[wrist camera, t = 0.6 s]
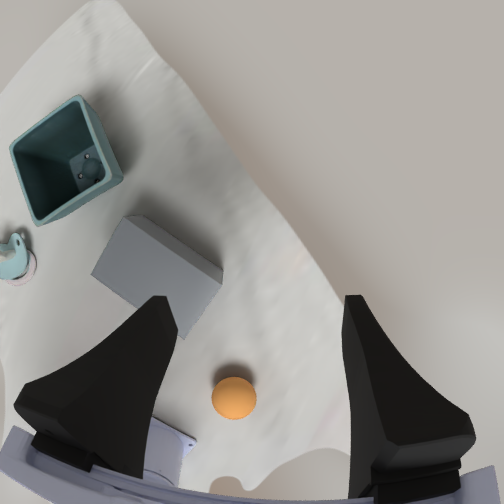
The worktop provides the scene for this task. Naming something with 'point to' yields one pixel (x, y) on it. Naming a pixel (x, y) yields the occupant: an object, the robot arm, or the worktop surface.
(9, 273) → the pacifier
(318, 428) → the worktop surface
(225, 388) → the ball
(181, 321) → the gray rectangular block
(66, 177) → the flower pot
